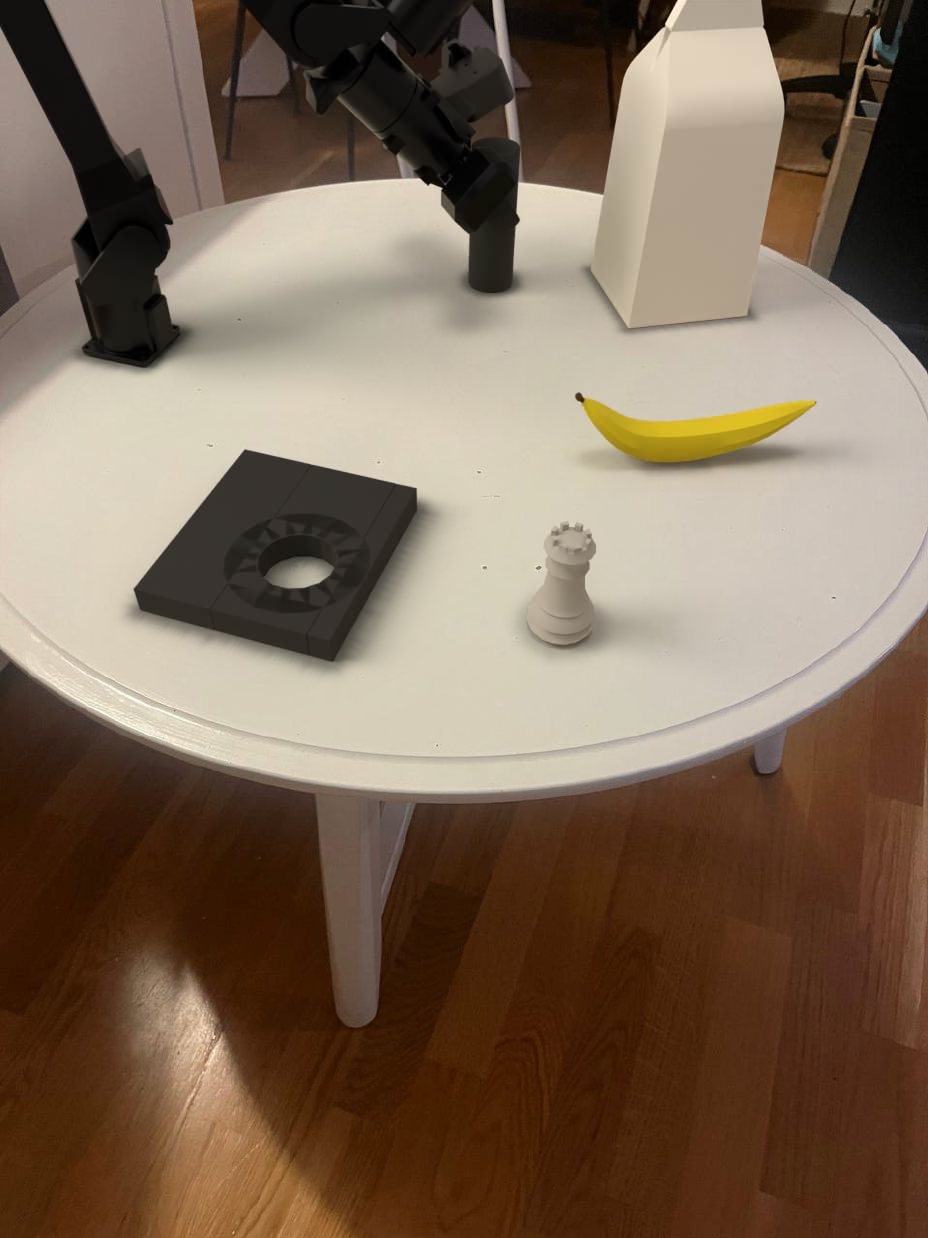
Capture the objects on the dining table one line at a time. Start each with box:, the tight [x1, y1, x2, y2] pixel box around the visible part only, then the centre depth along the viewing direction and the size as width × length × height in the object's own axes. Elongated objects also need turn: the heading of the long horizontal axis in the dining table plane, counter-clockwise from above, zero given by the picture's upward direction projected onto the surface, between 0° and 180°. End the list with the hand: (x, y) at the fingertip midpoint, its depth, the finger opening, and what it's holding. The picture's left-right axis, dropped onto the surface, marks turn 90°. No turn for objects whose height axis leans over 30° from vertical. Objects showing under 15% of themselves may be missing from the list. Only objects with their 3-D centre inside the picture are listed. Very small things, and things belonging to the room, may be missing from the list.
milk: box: [590, 0, 785, 329], centre depth 87 cm, size 12×12×26 cm
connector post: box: [467, 136, 521, 293], centre depth 92 cm, size 4×4×13 cm
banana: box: [574, 391, 817, 463], centre depth 76 cm, size 3×19×6 cm, turn 95°
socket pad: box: [133, 449, 418, 662], centre depth 68 cm, size 14×16×2 cm
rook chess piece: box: [526, 520, 597, 646], centre depth 62 cm, size 4×4×8 cm
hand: (506, 213), depth 92 cm, fingers closed on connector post, 4 cm apart
